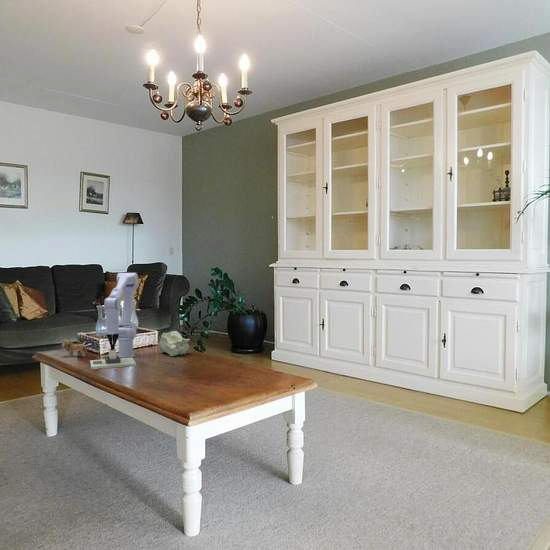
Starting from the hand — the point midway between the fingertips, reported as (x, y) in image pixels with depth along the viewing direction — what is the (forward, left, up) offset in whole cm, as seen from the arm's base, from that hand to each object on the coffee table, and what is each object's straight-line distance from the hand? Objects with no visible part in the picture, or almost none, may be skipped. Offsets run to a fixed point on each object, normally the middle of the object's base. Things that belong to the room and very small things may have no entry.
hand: (112, 350), depth 236 cm
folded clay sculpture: (-14, +33, -7) cm, 36 cm away
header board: (0, 0, -7) cm, 7 cm away
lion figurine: (-26, -17, -7) cm, 32 cm away
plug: (0, 0, -6) cm, 6 cm away
